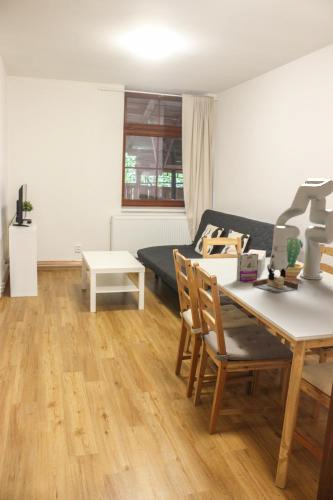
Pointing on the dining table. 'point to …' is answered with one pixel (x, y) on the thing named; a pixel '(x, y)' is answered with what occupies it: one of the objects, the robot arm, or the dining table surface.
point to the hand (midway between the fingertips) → (276, 278)
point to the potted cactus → (293, 258)
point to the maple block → (276, 281)
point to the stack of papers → (260, 260)
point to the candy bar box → (247, 267)
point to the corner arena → (263, 285)
